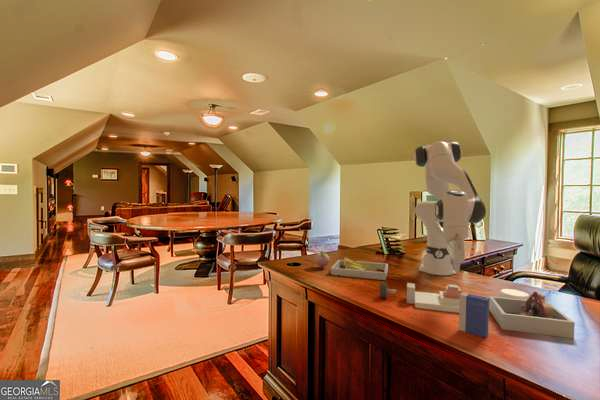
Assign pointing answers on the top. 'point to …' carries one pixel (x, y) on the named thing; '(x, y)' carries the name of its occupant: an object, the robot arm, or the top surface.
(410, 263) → the top surface
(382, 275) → the sorting frame
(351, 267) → the plastic component
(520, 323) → the tray
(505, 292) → the coaster
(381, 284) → the wheel
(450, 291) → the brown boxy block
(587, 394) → the top surface
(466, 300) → the walkman
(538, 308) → the brake caliper
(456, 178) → the robot arm
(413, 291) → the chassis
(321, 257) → the decorative fruit
